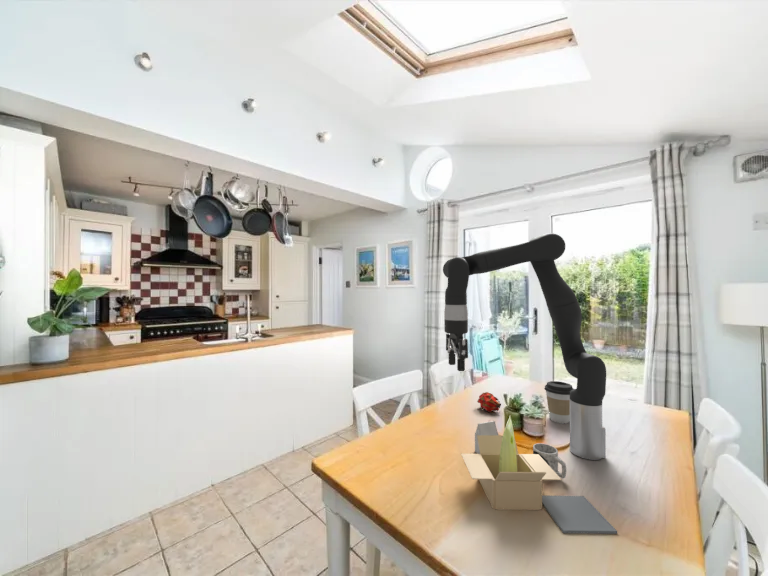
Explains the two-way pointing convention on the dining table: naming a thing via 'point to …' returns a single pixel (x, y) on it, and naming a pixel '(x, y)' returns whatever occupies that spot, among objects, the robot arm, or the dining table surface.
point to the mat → (576, 515)
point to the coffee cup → (558, 401)
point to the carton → (509, 476)
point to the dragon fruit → (488, 402)
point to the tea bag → (485, 432)
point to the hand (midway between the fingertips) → (456, 367)
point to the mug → (550, 457)
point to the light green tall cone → (508, 450)
